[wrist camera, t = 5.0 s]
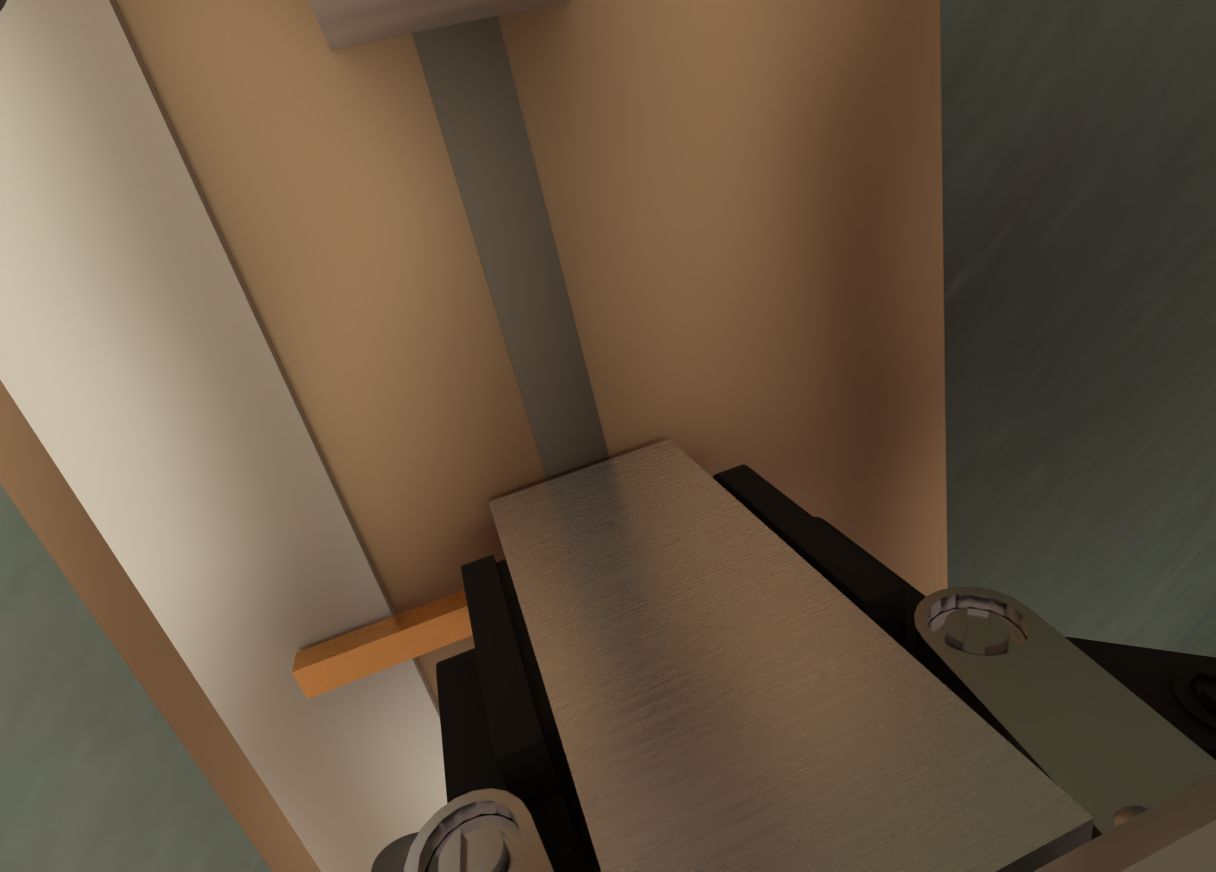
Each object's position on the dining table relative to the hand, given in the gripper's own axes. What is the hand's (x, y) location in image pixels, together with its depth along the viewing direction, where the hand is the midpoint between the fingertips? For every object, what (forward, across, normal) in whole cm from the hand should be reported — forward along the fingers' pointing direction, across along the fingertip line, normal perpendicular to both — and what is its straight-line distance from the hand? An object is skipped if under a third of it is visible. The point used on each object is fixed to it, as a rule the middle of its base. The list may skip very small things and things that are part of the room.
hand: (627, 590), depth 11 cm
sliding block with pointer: (+1, +2, 0) cm, 2 cm away
